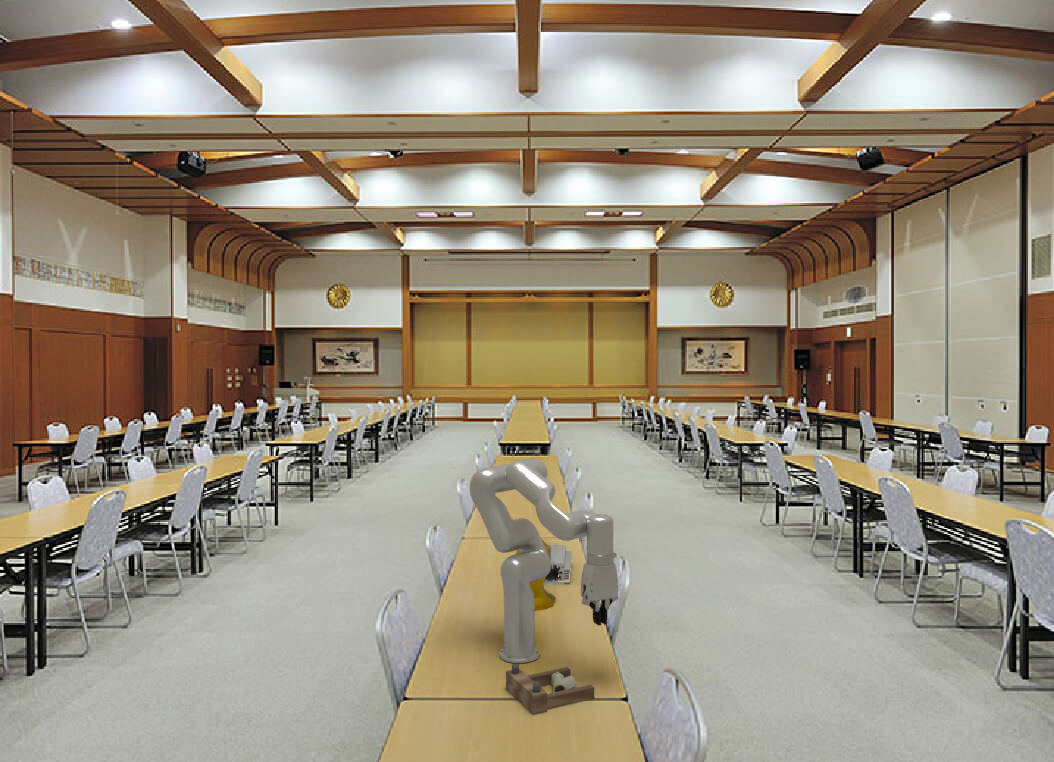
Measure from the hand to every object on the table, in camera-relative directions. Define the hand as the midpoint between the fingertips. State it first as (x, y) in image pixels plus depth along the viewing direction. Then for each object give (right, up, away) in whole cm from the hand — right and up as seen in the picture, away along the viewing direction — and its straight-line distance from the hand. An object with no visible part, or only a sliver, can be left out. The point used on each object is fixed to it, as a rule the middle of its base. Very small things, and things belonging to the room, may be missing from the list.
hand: (600, 623), depth 209 cm
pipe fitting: (-10, -18, -4) cm, 21 cm away
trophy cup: (-19, -16, +71) cm, 75 cm away
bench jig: (-15, -17, -7) cm, 24 cm away
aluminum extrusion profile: (-9, -16, +110) cm, 112 cm away
